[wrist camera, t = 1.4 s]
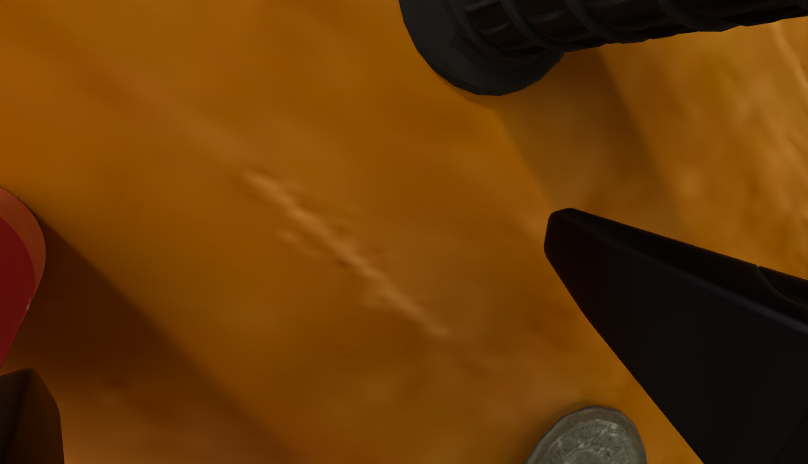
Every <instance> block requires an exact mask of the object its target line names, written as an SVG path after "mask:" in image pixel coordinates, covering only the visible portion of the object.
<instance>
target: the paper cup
mask: <svg viewBox="0 0 808 464" xmlns="http://www.w3.org/2000/svg"><path fill="white" fill-rule="evenodd" d="M45 262H46V246H45V240H44V236H43V233H42V230H41V228H40V226H39V224H38V222H37V220H36V218H35V217H34V215H33V214H32V213H31V211H30V210H29V209H28V208H27V207H26V206H25V205H24V204H23V203H22V202H21V201H20V200H19V199H17V198H16V197H15V196H13V195H12V194H11V193H9V192H8V191H6V190H4V189H2V188H0V368H1V366H2V364H3V362H4V360H5V358H6V356H7V354H8V351H9V349H10V347H11V345H12V343H13V341H14V339H15V337H16V334H17V332H18V330H19V328H20V326H21V324H22V322H23V320H24V317H25V315H26V313H27V311H28V309H29V306H30V304H31V302H32V300H33V298H34V295H35V293H36V291H37V288H38V286H39V283H40V281H41V278H42V275H43V271H44V267H45Z"/></svg>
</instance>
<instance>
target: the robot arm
mask: <svg viewBox="0 0 808 464" xmlns="http://www.w3.org/2000/svg"><path fill="white" fill-rule="evenodd" d="M544 252H545V255H546V257H547V259H548V260H549V262H550V263H551V265H552V267H553V268H554V270H555V271H556V273H557V274H558V276H559V277H560V279H561V280H562V282H563V283H564V285H565V287H566V288H567V290H568V291H569V293H570V294H571V296H572V297H573V299H574V300H575V302H576V303H577V305H578V307H579V308H580V309H581V311H582V312H583V314H584V315H585V317H586V318H587V319H588V320H589V322H590V323H591V324H592V326H593V327H594V328H595V329H596V331H597V332H598V333H599V334H600V336H601V337H602V338H603V339H604V341H605V342H606V343H607V344H608V346H609V347H610V348H611V349H612V350H613V352H614V353H615V354H616V355H617V357H618V358H619V359H620V360H621V362H622V363H623V364H624V365H625V367H626V368H627V369H628V370H629V372H630V373H631V374H632V375H633V376H634V378H635V379H636V380H637V381H638V383H639V384H640V385H641V386H642V388H643V389H644V390H645V391H646V393H647V394H648V395H649V396H650V398H651V399H652V400H653V401H654V403H655V404H656V405H657V406H658V407H659V409H660V410H661V411H662V412H663V414H664V415H665V416H666V417H667V419H668V420H669V421H670V422H671V424H672V425H673V426H674V427H675V429H676V430H677V431H678V432H679V433H680V435H681V436H682V437H683V438H684V440H685V441H686V442H687V443H688V445H689V446H690V447H691V448H692V450H693V451H694V452H695V453H696V455H697V456H698V457H699V458H700V460H701V461H702V462H703V463H704V464H808V280H805V279H802V278H799V277H795V276H792V275H788V274H785V273H782V272H778V271H775V270H772V269H769V268H765V267H762V266H759V267H758V266H757V265H755V264H752V263H749V262H746V261H742V260H739V259H736V258H733V257H729V256H726V255H723V254H720V253H716V252H713V251H710V250H707V249H703V248H700V247H697V246H694V245H690V244H687V243H684V242H681V241H677V240H674V239H671V238H668V237H664V236H661V235H658V234H655V233H651V232H648V231H645V230H642V229H638V228H635V227H632V226H629V225H625V224H622V223H619V222H616V221H612V220H609V219H606V218H603V217H599V216H596V215H593V214H590V213H586V212H583V211H580V210H577V209H573V208H566V209H562V210H559V211H556V212H553V213H552V214H551V215H550V217H549V219H548V224H547V230H546V235H545V241H544ZM0 464H64V453H63V443H62V432H61V421H60V414H59V409H58V406H57V404H56V402H55V400H54V398H53V397H52V395H51V393H50V392H49V390H48V389H47V387H46V385H45V384H44V382H43V381H42V379H41V377H40V376H39V374H38V373H37V372H36V371H35V370H34V369H32V368H25V369H21V370H18V371H15V372H11V373H8V374H5V375H2V376H0Z"/></svg>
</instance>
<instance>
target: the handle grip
mask: <svg viewBox="0 0 808 464" xmlns="http://www.w3.org/2000/svg"><path fill="white" fill-rule="evenodd" d="M399 3H400V7H401V11H402V16H403V20H404V23H405V25H406V27H407V29H408V32H409V34H410V36H411V38H412V40H413V42H414V44H415V46H416V48H417V50H418V51H419V52H420V53H421V55H422V56H423V57H424V58H425V60H426V61H427V62H428V63H429V65H430V66H431V67H432V68H433V70H434V71H436V72H437V73H438V74H440V75H441V76H442V77H444V78H445V79H446V80H448V81H449V82H451V83H452V84H453V85H455V86H457V87H459V88H462V89H465V90H467V91H470V92H473V93H475V94H482V95H499V96H500V95H504V94H507V93H511V92H515V91H519V90H522V89H524V88H526V87H527V86H529V85H531V84H533V83H535V82H537V81H538V80H540V79H541V78H542V77H543V76H544V75H545V74H546V73H547V72H548V71H549V70H550V69H551V68H552V67H553V66H555V65H556V64H557V63H558V62H559V61H560V59H561V58H562V56H563V54H564V53H565V52H572V51H577V50H582V49H587V48H593V47H599V46H602V45H604V44H606V43H607V44H612V43H621V44H625V43H637V42H644V41H646V40H648V39H658V38H664V37H670V36H674V35H676V34H683V33H691V32H697V31H700V32H722V31H725V30H728V29H731V28H734V27H737V26H740V25H742V26H753V25H759V24H765V23H772V22H776V21H778V20H781V19H788V18H796V17H804V16H808V0H399Z"/></svg>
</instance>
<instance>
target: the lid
mask: <svg viewBox="0 0 808 464" xmlns="http://www.w3.org/2000/svg"><path fill="white" fill-rule="evenodd" d="M524 464H647V461H646V453H645V447H644V445H643V443H642V440H641V437H640V435H639V433H638V431H637V429H636V427H635V425H634V423H633V422H632V421H631V420H630V419H629V418H628V417H627V416H626V415H624V414H623V413H622V412H621V411H619V410H616V409H613V408H606V407H602V406H589V407H585V408H582V409H579V410H576V411H574V412H572V413H569V414H567V415H565V416H563V417H561V418H560V419H559V420H558V421H557V422H556V423H555V424H554V425H553V426H552V427H551V428H550V429H549V430H548V431H547V432H546V433H545V434H544V435H543V436H542V437H541V439H540V440H539V441H538V443H537V444H536V445H535V447H534V448H533V450H532V451H531V453H530V455H529V456H528V458H527V459H526V461H525V463H524Z"/></svg>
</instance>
